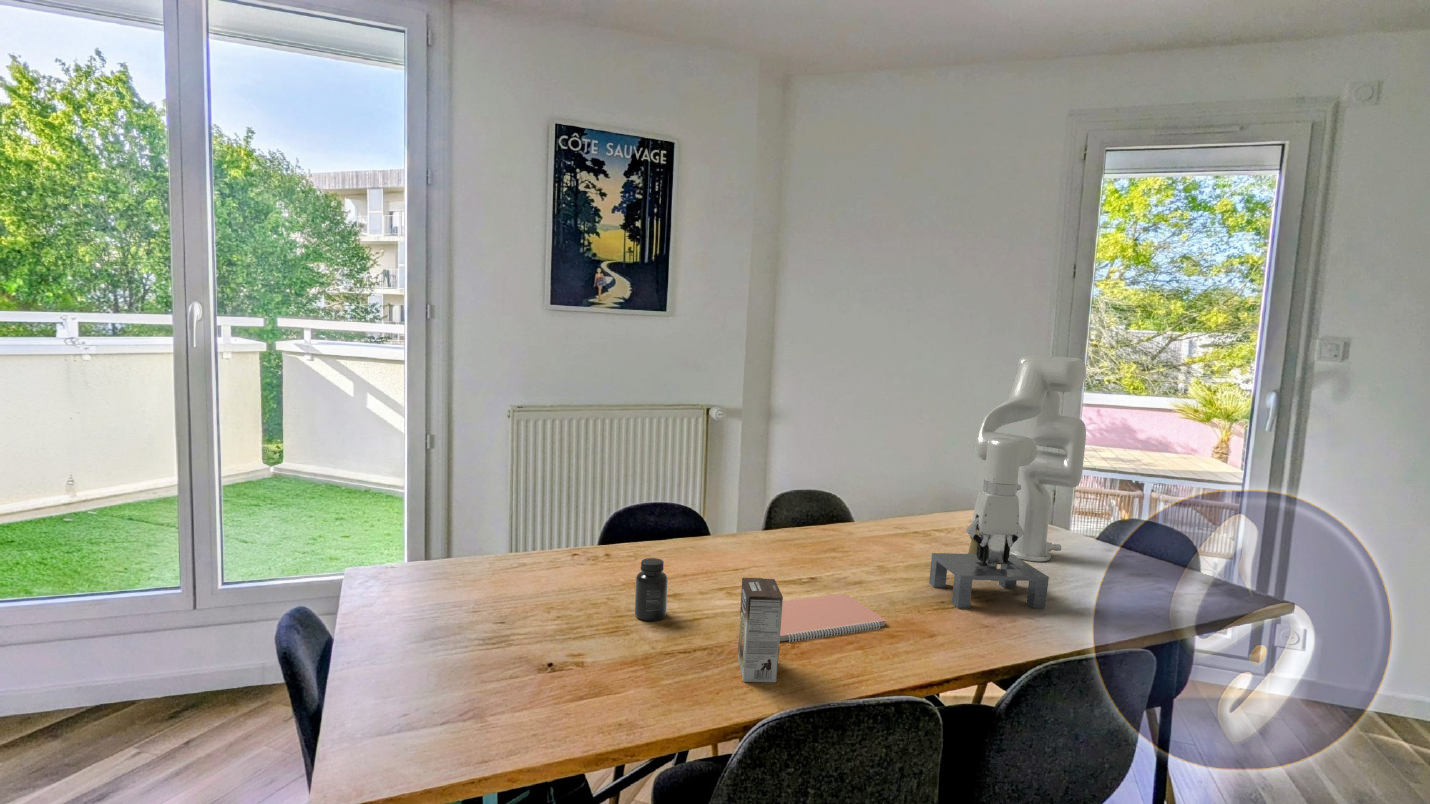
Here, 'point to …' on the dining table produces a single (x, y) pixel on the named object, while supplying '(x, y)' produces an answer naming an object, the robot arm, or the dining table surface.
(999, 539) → the peg
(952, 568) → the grey windowed bracket
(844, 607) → the notebook
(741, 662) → the coffee box
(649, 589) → the supplement bottle
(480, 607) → the dining table surface
